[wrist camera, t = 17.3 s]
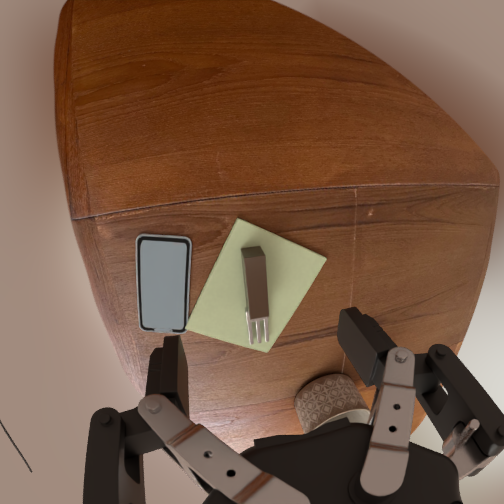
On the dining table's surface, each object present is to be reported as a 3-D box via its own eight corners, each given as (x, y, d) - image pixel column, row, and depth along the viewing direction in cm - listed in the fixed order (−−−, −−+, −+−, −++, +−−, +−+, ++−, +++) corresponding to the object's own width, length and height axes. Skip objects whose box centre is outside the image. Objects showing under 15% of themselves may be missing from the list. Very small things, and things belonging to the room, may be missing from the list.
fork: (238, 248, 38) (241, 258, 35) (262, 245, 38) (268, 254, 35) (248, 341, 44) (251, 354, 41) (268, 337, 44) (273, 350, 41)
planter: (334, 409, 57) (350, 443, 47) (283, 410, 53) (296, 450, 44) (361, 369, 53) (383, 405, 43) (307, 369, 49) (327, 411, 40)
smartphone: (192, 237, 36) (187, 334, 41) (192, 235, 37) (187, 330, 42) (135, 234, 35) (139, 331, 40) (136, 231, 35) (139, 327, 41)
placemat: (266, 350, 46) (267, 352, 45) (184, 326, 41) (184, 328, 41) (325, 257, 41) (327, 258, 40) (237, 217, 36) (237, 218, 36)
